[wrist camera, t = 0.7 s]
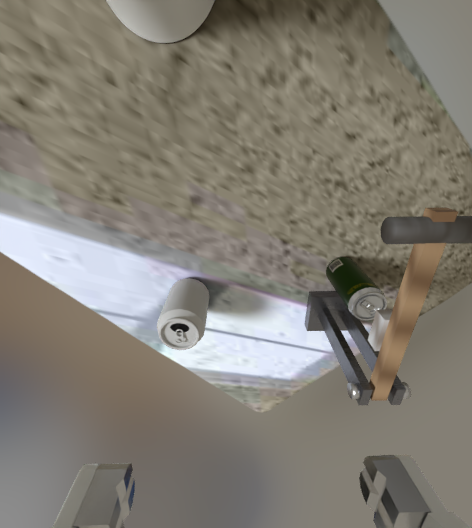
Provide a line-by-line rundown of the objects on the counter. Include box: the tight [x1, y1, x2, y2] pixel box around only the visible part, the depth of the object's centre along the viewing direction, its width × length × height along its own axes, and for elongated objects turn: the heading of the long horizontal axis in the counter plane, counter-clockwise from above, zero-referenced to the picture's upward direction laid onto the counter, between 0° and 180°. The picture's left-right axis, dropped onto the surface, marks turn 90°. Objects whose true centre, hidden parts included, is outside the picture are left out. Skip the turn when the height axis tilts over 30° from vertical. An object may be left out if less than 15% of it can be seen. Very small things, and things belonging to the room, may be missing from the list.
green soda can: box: [326, 257, 387, 321], centre depth 43 cm, size 5×5×12 cm
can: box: [157, 278, 209, 350], centre depth 45 cm, size 8×8×12 cm
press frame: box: [305, 291, 411, 405], centre depth 44 cm, size 8×10×20 cm
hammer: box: [368, 208, 472, 400], centre depth 31 cm, size 26×9×4 cm, turn 0°
